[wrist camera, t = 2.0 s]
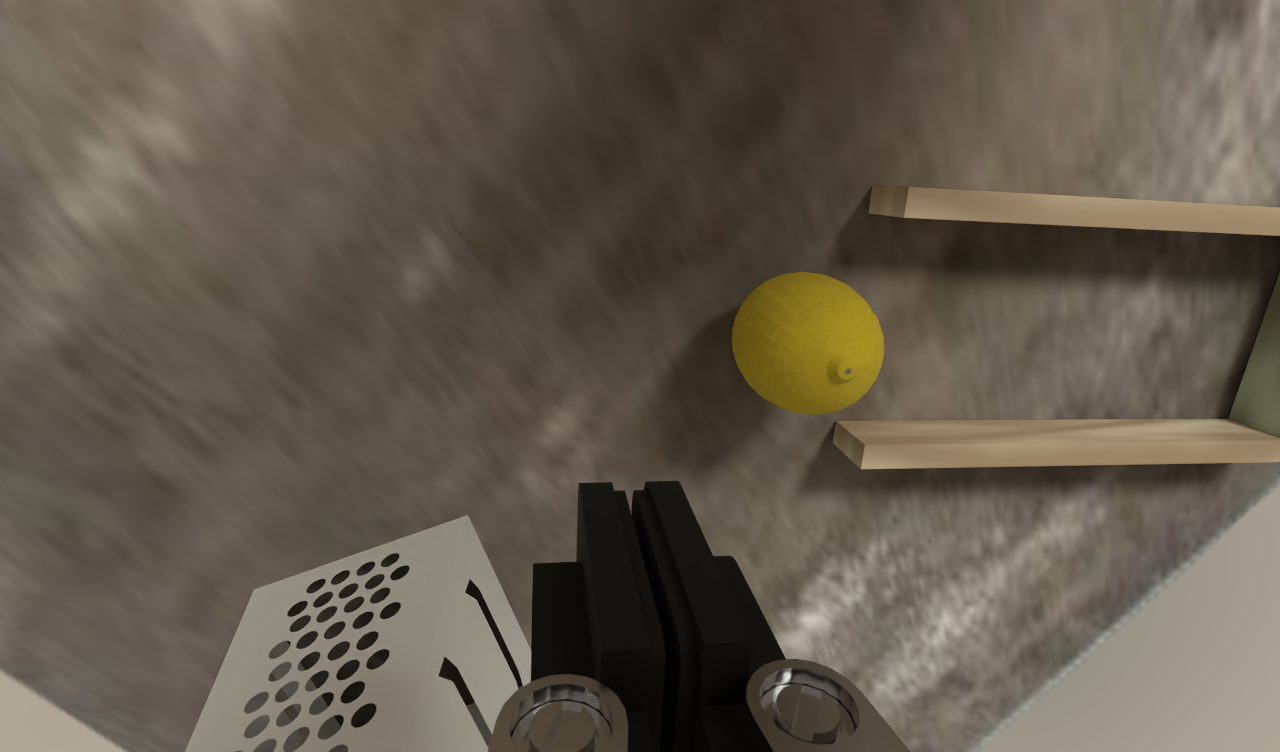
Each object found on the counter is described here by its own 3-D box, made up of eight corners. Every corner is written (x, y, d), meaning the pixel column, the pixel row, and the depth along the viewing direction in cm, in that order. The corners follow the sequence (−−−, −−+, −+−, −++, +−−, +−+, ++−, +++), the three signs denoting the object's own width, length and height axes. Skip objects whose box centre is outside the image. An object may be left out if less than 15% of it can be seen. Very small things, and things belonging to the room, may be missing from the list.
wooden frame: (872, 185, 28) (909, 186, 25) (1327, 211, 32) (1404, 214, 29) (832, 442, 32) (860, 469, 29) (1245, 438, 36) (1305, 461, 33)
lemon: (728, 392, 30) (789, 465, 23) (699, 282, 28) (755, 321, 21) (836, 356, 30) (933, 415, 23) (814, 244, 29) (911, 269, 21)
